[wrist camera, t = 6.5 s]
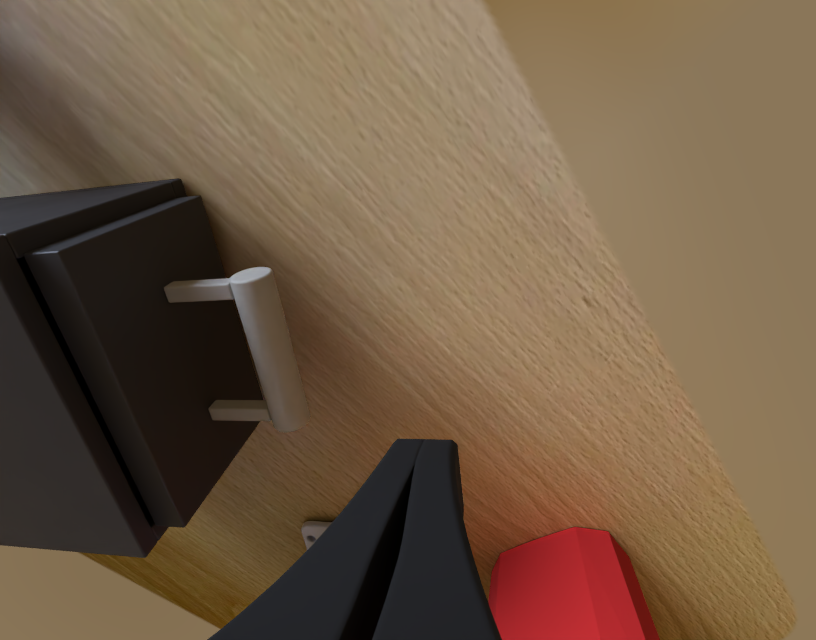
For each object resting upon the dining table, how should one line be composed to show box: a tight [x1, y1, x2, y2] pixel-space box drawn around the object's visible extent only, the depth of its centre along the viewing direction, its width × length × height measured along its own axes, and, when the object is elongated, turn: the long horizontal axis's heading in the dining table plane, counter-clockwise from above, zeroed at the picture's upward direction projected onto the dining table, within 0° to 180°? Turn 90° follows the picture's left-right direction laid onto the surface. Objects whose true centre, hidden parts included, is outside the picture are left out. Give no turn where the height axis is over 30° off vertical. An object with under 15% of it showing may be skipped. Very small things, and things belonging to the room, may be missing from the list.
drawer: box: [17, 196, 310, 528], centre depth 18 cm, size 14×10×7 cm
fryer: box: [0, 179, 187, 558], centre depth 19 cm, size 11×11×8 cm
